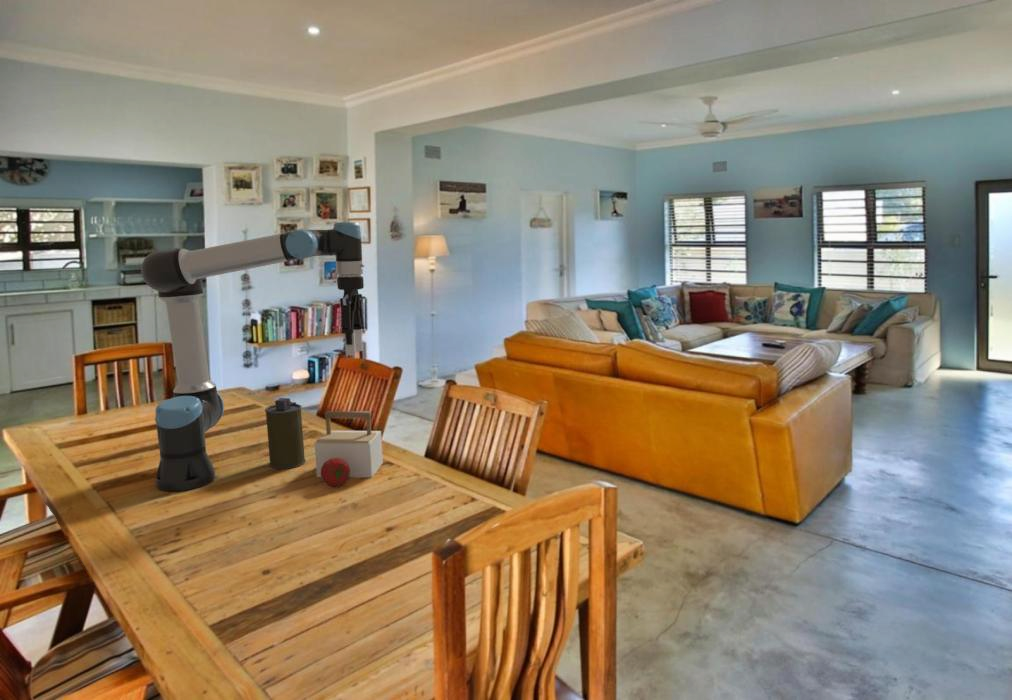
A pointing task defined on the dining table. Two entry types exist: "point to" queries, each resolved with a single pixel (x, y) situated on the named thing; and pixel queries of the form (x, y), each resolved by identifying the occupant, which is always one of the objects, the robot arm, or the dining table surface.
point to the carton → (352, 455)
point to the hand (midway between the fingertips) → (354, 352)
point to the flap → (346, 436)
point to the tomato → (335, 472)
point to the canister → (285, 434)
